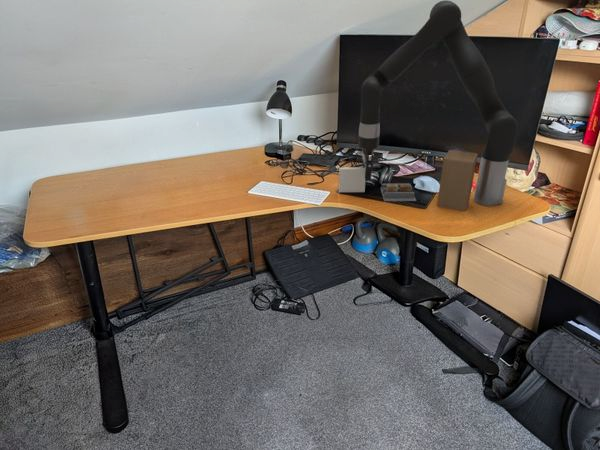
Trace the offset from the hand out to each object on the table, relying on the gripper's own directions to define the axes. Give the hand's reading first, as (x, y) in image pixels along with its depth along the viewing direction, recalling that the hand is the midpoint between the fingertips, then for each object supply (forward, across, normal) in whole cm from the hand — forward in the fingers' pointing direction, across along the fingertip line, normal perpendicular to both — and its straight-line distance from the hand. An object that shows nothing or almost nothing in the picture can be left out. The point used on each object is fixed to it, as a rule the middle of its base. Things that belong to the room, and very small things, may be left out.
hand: (366, 175), depth 175 cm
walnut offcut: (+7, -4, -14) cm, 16 cm away
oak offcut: (+7, -4, -10) cm, 12 cm away
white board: (+8, 0, +6) cm, 10 cm away
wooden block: (+8, -11, -31) cm, 34 cm away
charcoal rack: (+8, -3, -12) cm, 15 cm away
